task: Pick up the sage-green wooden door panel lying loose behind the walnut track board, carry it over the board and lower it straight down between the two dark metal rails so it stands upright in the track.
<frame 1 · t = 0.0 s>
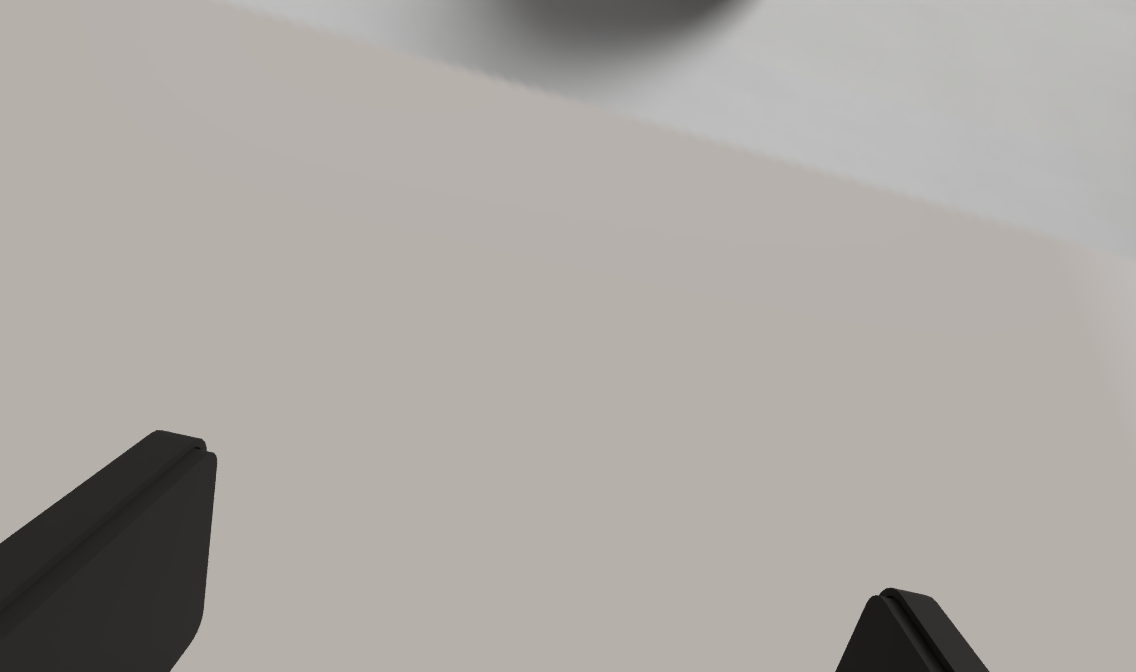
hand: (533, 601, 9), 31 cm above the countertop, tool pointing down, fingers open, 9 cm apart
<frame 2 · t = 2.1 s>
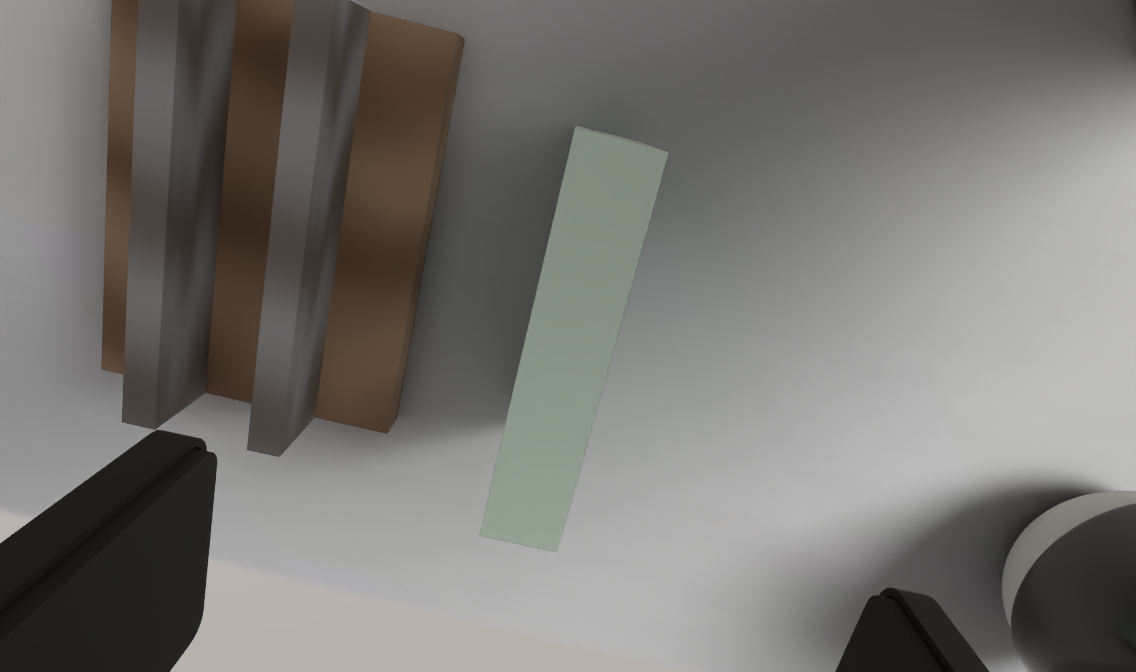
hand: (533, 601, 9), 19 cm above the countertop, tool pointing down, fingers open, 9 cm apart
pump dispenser: (1070, 549, 32), on the countertop
track board: (281, 210, 27), on the countertop
door panel: (569, 279, 28), on the countertop
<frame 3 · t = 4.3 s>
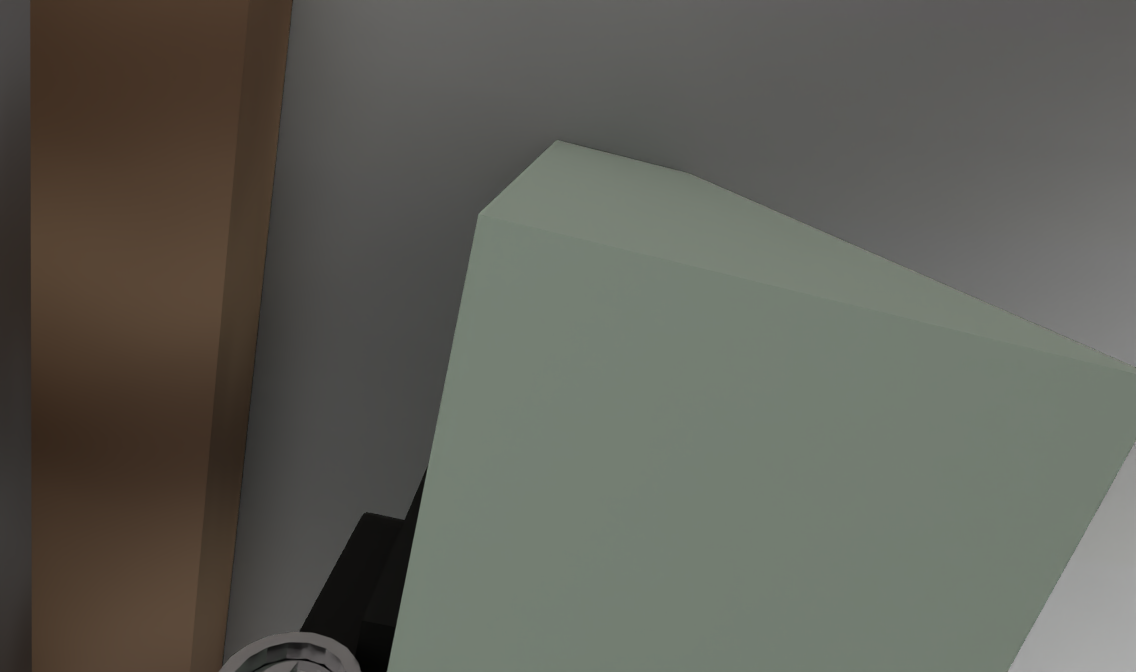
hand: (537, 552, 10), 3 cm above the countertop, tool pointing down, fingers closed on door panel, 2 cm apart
door panel: (546, 454, 14), on the countertop, touching gripper
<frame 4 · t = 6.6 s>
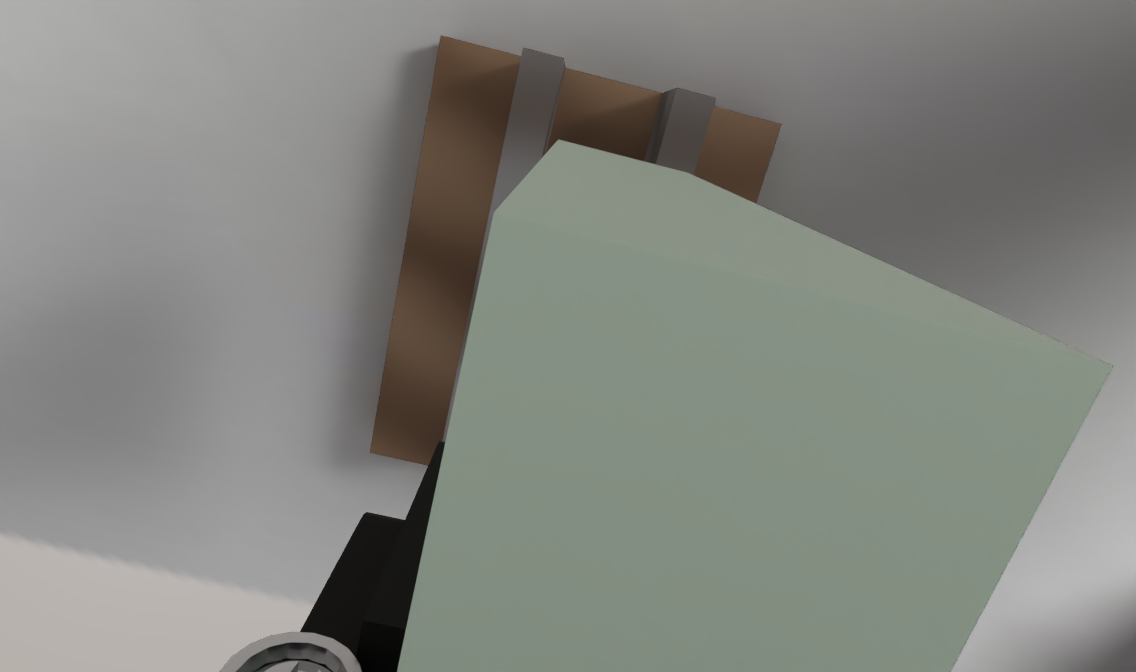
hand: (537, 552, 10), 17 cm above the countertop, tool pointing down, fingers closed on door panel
track board: (560, 291, 27), on the countertop
door panel: (546, 448, 14), point 13 cm above the countertop, touching gripper
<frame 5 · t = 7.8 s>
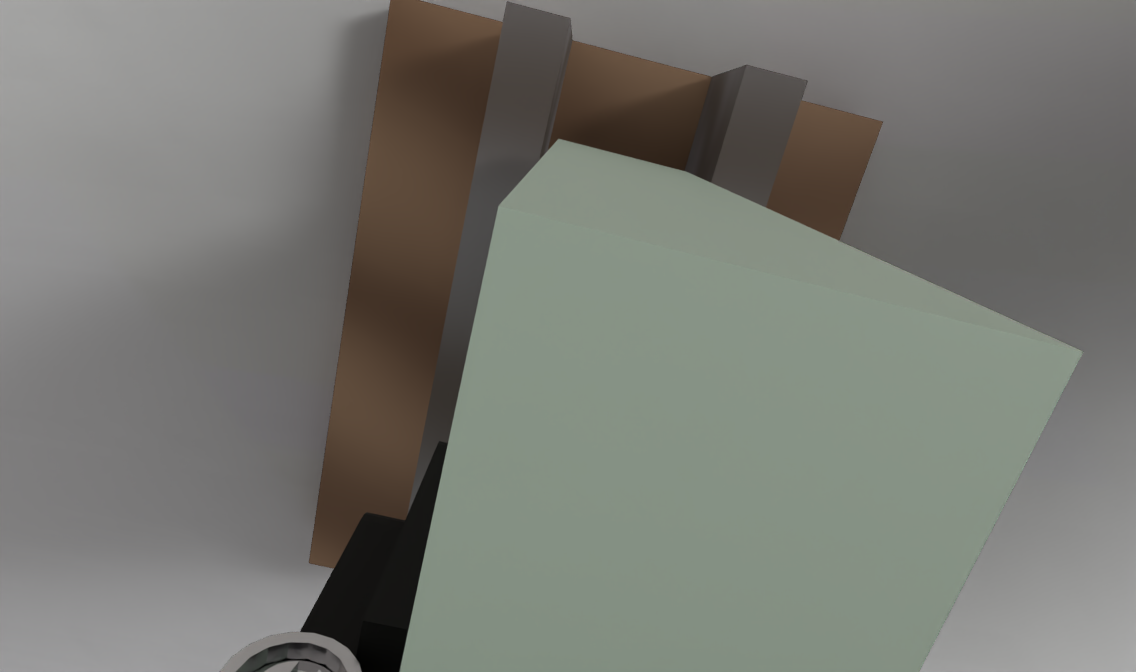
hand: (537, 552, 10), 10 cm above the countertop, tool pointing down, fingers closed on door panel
track board: (564, 349, 20), on the countertop
door panel: (546, 444, 14), point 6 cm above the countertop, touching gripper
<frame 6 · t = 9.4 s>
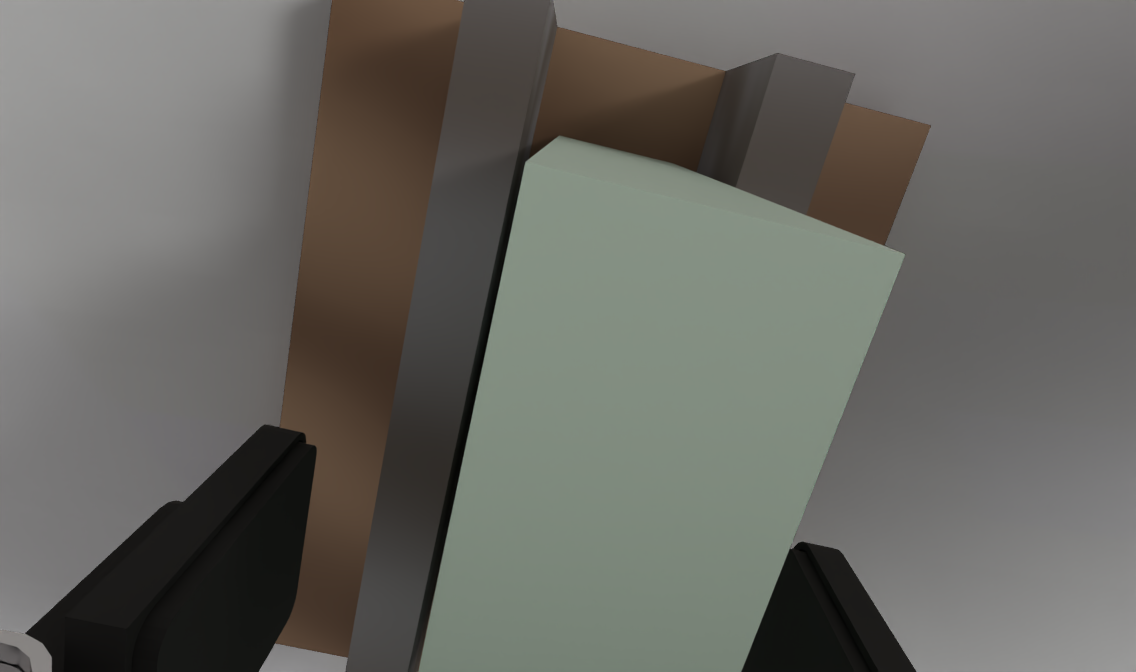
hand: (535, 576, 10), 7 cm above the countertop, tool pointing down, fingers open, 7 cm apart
track board: (550, 390, 17), on the countertop
door panel: (551, 413, 15), point 1 cm above the countertop, touching track board
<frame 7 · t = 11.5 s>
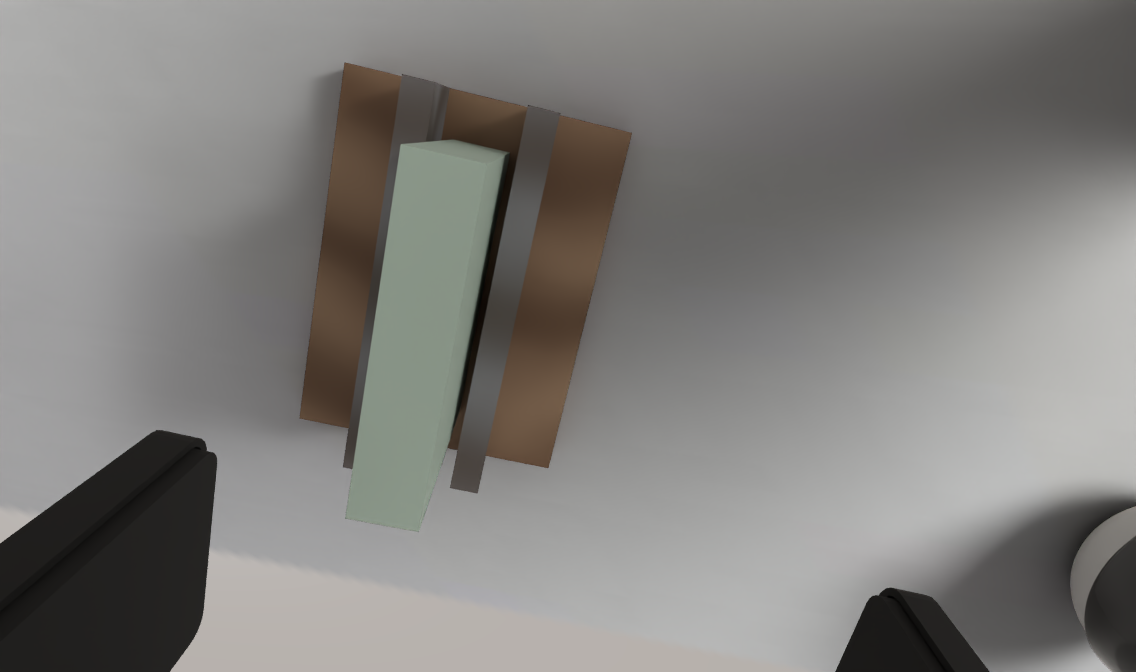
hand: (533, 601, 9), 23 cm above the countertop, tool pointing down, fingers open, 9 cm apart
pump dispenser: (1124, 551, 37), on the countertop
track board: (460, 277, 31), on the countertop
door panel: (457, 282, 30), point 1 cm above the countertop, touching track board
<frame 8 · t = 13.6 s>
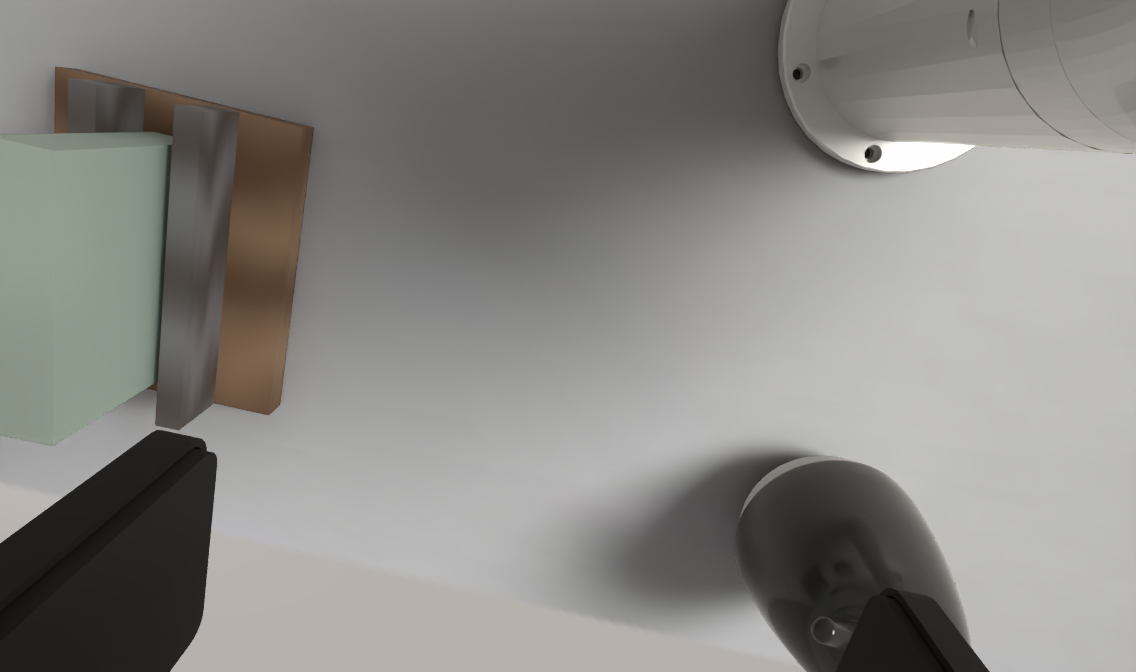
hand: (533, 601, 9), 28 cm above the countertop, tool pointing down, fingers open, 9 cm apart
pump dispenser: (801, 503, 41), on the countertop
track board: (186, 249, 37), on the countertop
door panel: (171, 253, 35), point 1 cm above the countertop, touching track board
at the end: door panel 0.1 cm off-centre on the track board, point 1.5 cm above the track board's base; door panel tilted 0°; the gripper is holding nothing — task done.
